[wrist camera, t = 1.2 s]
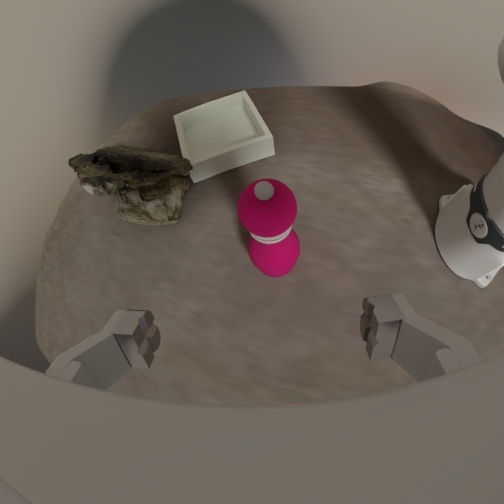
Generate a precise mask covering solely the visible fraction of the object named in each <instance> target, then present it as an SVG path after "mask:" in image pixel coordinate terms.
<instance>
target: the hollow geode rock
mask: <svg viewBox="0 0 504 504" xmlns="http://www.w3.org/2000/svg"><path fill="white" fill-rule="evenodd" d="M69 166H70V167H72V168H74V172H77V173H78V174H77V177H79V179H80V186H82V188H84V189H85V190H86V191H87V192H89V193H90V194H92V195H93V196H102V195H105V194H108V195H109V196H111V197H113V198H114V208H115V213H116V216H117V218H118V219H123V220H125V221H126V222H127V221H128V222H132V223H138V224H148V225H155V226H158V225H171V224H175V223H177V222H178V221H179V220H180V219H181V217H182V213H183V211H182V207H183V197H184V196H185V194H186V193H187V191H188V188H189V186H190V183H189V180H188V179H187V178H184V177H180V176H178V175H182V176H186V175H190V172H189V170H192V169H193V166H192V165H191V163H190V161H189V160H188V159H187V158H184V157H182V156H178V155H175V156H174V155H171V154H166V153H164V152H147V151H143V150H136V149H123V148H122V147H120V146H111V147H105V148H104V149H98V150H97V152H95V153H92V154H90V155H89V154H85V155H84V154H79V155H76V156H75V157H73V158H71V159H69Z"/></svg>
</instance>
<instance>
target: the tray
mask: <svg viewBox="0 0 504 504" xmlns="http://www.w3.org/2000/svg"><path fill="white" fill-rule="evenodd" d="M174 121H175V125H176V130H177V134H178V139H179V143H180V147H181V152H182V156H183V157H184V158H187V159H188V160H189V161H190V163H191V165H192V166H193V169H192V170H189V172H190V177H191V179H192V180H193V182H194V183H196V182H199V181H201V180H204V179H206V178H209V177H212V176H214V175H217V174H220V173H222V172H225V171H228V170H231V169H233V168H236V167H239V166H242V165H245V164H248V163H251V162H254V161H257V160H260V159H263V158H266V157H269V156H272V155H275V152H274V143H273V136H272V134H271V133H270V131H269V129H268V127H267V126H266V124H265V122H264V121H263V119H262V117H261V116H260V114H259V112H258V110H257V109H256V107H255V105H254V104H253V102H252V101H251V99H250V97H249V96H248V94H247V92H246V91H242V92H238V93H235V94H232V95H229V96H226V97H223V98H220V99H217V100H214V101H211V102H208V103H205V104H202V105H200V106H197V107H194V108H192V109H189V110H186V111H184V112H181V113H179V114H176V115H174Z"/></svg>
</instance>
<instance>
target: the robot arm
mask: <svg viewBox="0 0 504 504" xmlns="http://www.w3.org/2000/svg"><path fill="white" fill-rule="evenodd" d="M498 67H499V72H500V75H501V79H502V81H503V83H504V37H503V39H502V41H501V43H500V45H499V50H498ZM435 237H436V243H437V246H438V249H439V252H440V254H441V256H442V258H443V260H444V261H445V263H446V264H447V266H448V267H449V268H450V269H451V270H452V271H453V272H454V273H455V274H457V275H458V276H460V277H462V278H465V279H469V280H472V281H474V282H475V283H476V284H477V285H478V286H479V287H481V288H484V287H486V286H487V285H488V284H489V282H490V281H491V280H492V279H493V277H494V276H495V275H496V273H497V272H498V270H499V269H500V268H501V267H502V266H504V153H503V154H502V156H501V158H500V159H499V161H498V162H497V163H496V165H495V166H494V167H493V169H492V170H491V171H490V172H489V173H486V174H485V175H483V176H482V177H481V178H480V179H479V180H478V181H477V182H476V184H474V185H472V184H468V185H464V186H462V187H461V188H460V189H459V190H458V191H457V192H456V193H455V194H452V195H444V196H442V197H441V198H440V199H439V215H438V218H437V220H436V225H435ZM362 308H363V310H364V313H363V314H362V315H361V319H360V332H361V336H362V339H363V340H364V341H365V342H367V345H366V350H367V353H368V356H369V359H370V361H373V360H380V359H386V358H391V359H392V360H393V361H395V362H396V363H397V364H398V365H399V366H401V367H402V368H403V369H404V370H405V371H407V372H408V373H409V374H410V375H411V376H413V377H414V378H415V379H416V380H417V381H418V383H414V384H410V385H406V386H402V387H398V388H394V389H389V390H385V391H380V392H375V393H370V394H365V395H359V396H353V397H347V398H340V399H332V400H324V401H315V402H305V403H292V404H274V405H216V404H198V403H185V402H174V401H165V400H157V399H150V398H143V397H137V396H131V395H125V394H120V393H115V392H110V391H106V390H108V389H109V388H110V387H111V386H112V385H113V384H114V383H115V382H117V381H118V380H119V379H120V378H121V377H122V376H123V375H124V374H126V373H127V372H128V371H129V370H130V369H131V367H133V368H145V369H149V368H150V366H151V363H152V361H153V359H154V355H153V352H155V351H156V350H158V348H159V345H160V338H161V337H160V332H159V329H158V327H157V326H156V325H155V324H153V321H154V317H153V314H152V312H151V311H149V310H125V309H119V310H116V312H115V313H114V314H113V316H112V317H111V318H110V320H109V321H108V323H107V324H106V325H105V327H104V328H103V330H102V331H101V332H100V333H96V334H94V335H92V336H91V337H89V338H87V339H86V340H84V341H82V342H81V343H79V344H77V345H75V346H74V347H72V348H70V349H69V350H67V351H65V352H64V353H62V354H60V355H58V356H57V357H56V358H55V360H54V361H53V363H52V364H51V365H50V367H49V368H48V370H47V371H46V373H45V374H43V373H41V372H38V371H35V370H32V369H29V368H27V367H24V366H21V365H19V364H16V363H14V362H12V361H9V360H7V359H5V358H3V357H0V504H504V351H503V352H501V353H498V354H496V355H494V356H492V357H489V358H487V359H485V360H481V358H480V357H479V355H478V354H477V352H476V351H475V349H474V348H473V346H472V345H471V343H470V342H469V340H467V339H465V338H463V337H461V336H459V335H457V334H455V333H454V332H452V331H450V330H448V329H446V328H444V327H442V326H440V325H438V324H436V323H434V322H432V321H430V320H428V319H426V318H424V317H422V316H420V317H418V316H417V314H416V312H415V311H414V309H413V308H412V306H411V305H410V303H409V302H408V300H407V299H406V298H405V296H404V295H403V293H401V292H396V293H391V294H387V295H380V296H373V297H365V298H364V300H363V304H362Z"/></svg>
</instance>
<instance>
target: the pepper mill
mask: <svg viewBox="0 0 504 504" xmlns="http://www.w3.org/2000/svg"><path fill="white" fill-rule="evenodd" d="M237 210H238V216H239V219H240V221H241V223H242V225H243V226H244V227H245V228H246V229H247V230H248V231H249V232H250V234H251V236H250V239H249V242H248V252H249V256H250V259H251V261H252V262H253V264H254V265H255V266H256V267H257V268H258V269H259V270H260V271H261V272H262V273H264V274H265V275H268V276H271V277H280V276H283V275H285V274H287V273H288V272H289V271H290V270H291V269H292V268H293V267H294V264H295V262H296V261H297V259H298V257H299V253H300V244H299V239H298V236H297V234H296V233H295V232H294V230H293V229H292V224H293V223H294V220H295V218H296V214H297V204H296V200H295V196H294V194H293V193H292V191H291V190H290V189H289V188H288V187H287V186H286V185H285V184H283V183H281V182H279V181H277V180H274V179H261V180H257V181H255V182H253V183H251V184H250V185H248V186H247V187H246V188H245V189H244V190H243V192H242V193H241V195H240V197H239V200H238V205H237Z"/></svg>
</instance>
